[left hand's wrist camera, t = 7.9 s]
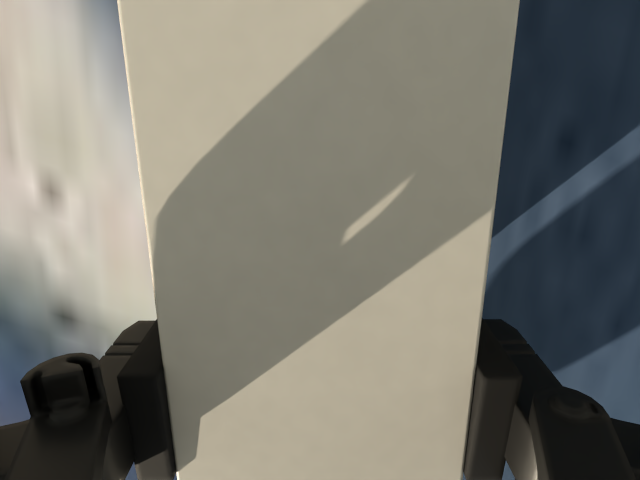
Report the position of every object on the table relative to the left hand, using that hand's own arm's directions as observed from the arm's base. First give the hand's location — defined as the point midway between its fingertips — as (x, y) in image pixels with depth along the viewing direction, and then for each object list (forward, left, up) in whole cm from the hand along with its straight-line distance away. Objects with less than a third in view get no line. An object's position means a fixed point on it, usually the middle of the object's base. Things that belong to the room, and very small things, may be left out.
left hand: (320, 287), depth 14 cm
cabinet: (+3, 0, -5) cm, 6 cm away
